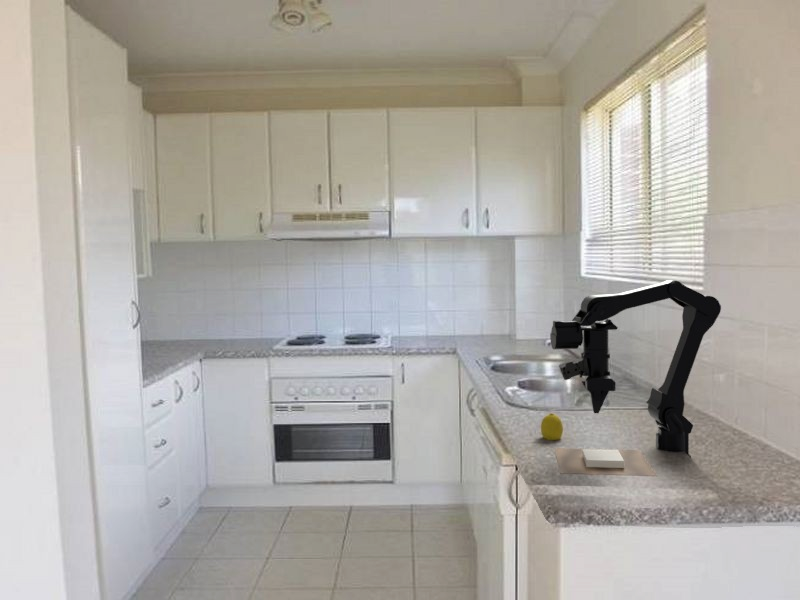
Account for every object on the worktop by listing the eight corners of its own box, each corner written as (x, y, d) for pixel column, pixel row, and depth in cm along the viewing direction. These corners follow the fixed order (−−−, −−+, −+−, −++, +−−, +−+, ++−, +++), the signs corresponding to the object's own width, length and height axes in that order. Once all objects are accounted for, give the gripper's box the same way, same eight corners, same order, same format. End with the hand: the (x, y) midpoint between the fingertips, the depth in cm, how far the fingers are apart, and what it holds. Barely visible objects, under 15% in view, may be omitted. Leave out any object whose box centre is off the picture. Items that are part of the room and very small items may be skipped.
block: (618, 449, 147) (624, 460, 139) (618, 457, 147) (624, 468, 139) (582, 449, 148) (586, 459, 141) (582, 456, 149) (586, 467, 141)
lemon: (547, 447, 161) (547, 416, 160) (537, 441, 166) (536, 411, 166) (567, 445, 162) (566, 414, 162) (556, 439, 168) (555, 409, 167)
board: (640, 456, 152) (640, 450, 152) (657, 482, 134) (657, 475, 134) (554, 454, 155) (554, 448, 155) (560, 480, 138) (560, 473, 138)
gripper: (558, 343, 162) (558, 403, 163) (564, 354, 143) (564, 422, 144) (603, 343, 160) (603, 404, 161) (615, 354, 141) (615, 423, 142)
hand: (596, 412), depth 152 cm, fingers closed
